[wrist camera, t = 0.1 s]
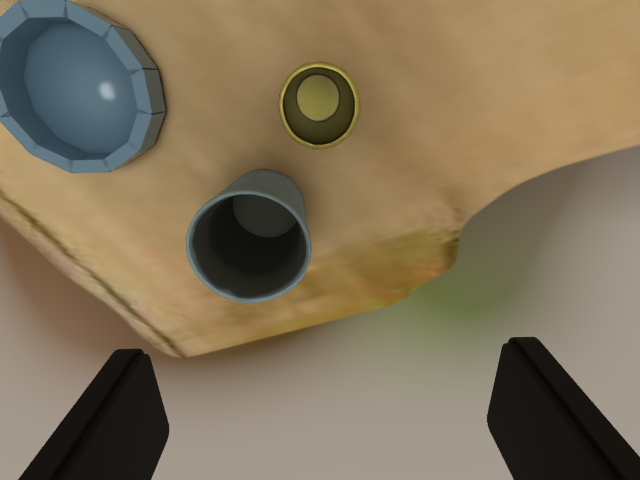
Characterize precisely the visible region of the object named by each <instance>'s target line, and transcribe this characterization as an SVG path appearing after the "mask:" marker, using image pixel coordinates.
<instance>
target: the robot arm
mask: <svg viewBox="0 0 640 480" xmlns="http://www.w3.org/2000/svg"><path fill="white" fill-rule="evenodd" d="M487 422H488V427H489V430H490V432H491V434H492V436H493V438H494V440H495V442H496V444H497V446H498V448H499V450H500V452H501V454H502V456H503V458H504V460H505V463H506V464H507V466H508V468H509V471H510V473H511V475H512V477H513V479H514V480H640V457H639V456H638V455H637V453H636V452H635V451H634V450H633V449H632V448H631V446H630V445H629V444H628V443H627V442H626V441H625V439H624V438H623V437H622V436H621V435H620V434H619V432H618V431H617V430H616V429H615V428H614V427H613V426H612V424H611V423H610V422H609V421H608V420H607V419H606V417H605V416H604V415H603V414H602V413H601V412H600V410H599V409H598V408H597V407H596V406H595V405H594V404H593V402H592V401H591V400H590V399H589V398H588V396H587V395H586V394H585V393H584V392H583V391H582V389H581V388H580V387H579V386H578V385H577V384H576V382H575V381H574V380H573V379H572V378H571V377H570V376H569V374H568V373H567V372H566V371H565V370H564V369H563V368H562V366H561V365H560V364H559V363H558V362H557V360H556V359H555V358H554V357H553V356H552V355H551V353H550V352H549V351H548V350H547V349H546V348H545V346H544V345H543V344H542V343H541V342H540V341H539V340H538V339H537V338H535V337H514V338H510V339H509V341H508V343H506V344H504V345H503V346H502V350H501V354H500V359H499V363H498V369H497V373H496V377H495V382H494V387H493V391H492V396H491V400H490V405H489V410H488V414H487ZM168 435H169V423H168V420H167V416H166V413H165V409H164V406H163V402H162V398H161V395H160V391H159V388H158V384H157V380H156V377H155V373H154V370H153V366H152V362H151V359H150V356H149V355H148V354H144V352H143V351H142V350H141V349H118V350H116V351H115V352H114V353H113V354H112V355H111V356H110V358H109V359H108V361H107V362H106V363H105V364H104V366H103V367H102V368H101V370H100V371H99V372H98V374H97V375H96V377H95V378H94V379H93V381H92V382H91V383H90V384H89V386H88V387H87V389H86V390H85V391H84V393H83V394H82V395H81V397H80V398H79V399H78V401H77V402H76V403H75V405H74V406H73V407H72V409H71V410H70V411H69V413H68V414H67V415H66V416H65V418H64V419H63V421H62V422H61V423H60V424H59V426H58V427H57V429H56V430H55V431H54V432H53V434H52V435H51V437H50V438H49V439H48V441H47V442H46V443H45V445H44V446H43V447H42V449H41V450H40V451H39V453H38V454H37V455H36V457H35V458H34V459H33V461H32V462H31V463H30V465H29V466H28V467H27V469H26V470H25V471H24V473H23V474H22V475H21V477H20V478H19V479H18V480H151V478H152V476H153V473H154V471H155V468H156V466H157V464H158V461H159V459H160V457H161V454H162V451H163V449H164V447H165V444H166V442H167V439H168Z"/></svg>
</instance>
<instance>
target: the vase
mask: <svg viewBox="0 0 640 480" xmlns="http://www.w3.org/2000/svg"><path fill="white" fill-rule="evenodd" d="M279 112H280V115H281V119H282V123H283V126H284V128H285V129H286V131H287V132H288V133H289V135H290V136H291V137H292V138H293V139H294V140H295V141H296V142H298V143H300V144H302V145H304V146H306V147H309V148H312V149H326V148H330V147H333V146H336V145H337V144H339V143H340V142H342V141H343V140H344V139H346V138H347V137H348V136H349V135H350V134H351V132H352V130H353V128H354V127H355V125H356V123H357V121H358V119H359V115H360V100H359V94H358V90H357V88H356V85H355V83H354V82H353V80H352V79H351V78H350V76H349V75H348V74H347V73H346V72H345V70H343V69H342V68H340V67H338V66H336V65H333V64H330V63H327V62H314V63H307V64H304V65H302V66H300V67H299V68H298V69H296V70H295V71H293V72H292V73H291V74H290V75H289V76H288V78H287V80H286V81H285V83H284V85H283V87H282V89H281V92H280V95H279Z"/></svg>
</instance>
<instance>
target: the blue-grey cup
mask: <svg viewBox="0 0 640 480" xmlns="http://www.w3.org/2000/svg"><path fill="white" fill-rule="evenodd" d="M186 251H187V256H188V260H189V262H190V265H191V267H192V269H193V271H194V272H195V274H196V275H197V276H198V278H199V279H200V280H201V281H202V282H203V283H204V284H205V285H206V286H207V287H208V288H210V289H211V290H212V291H214V292H215V293H217V294H219V295H220V296H222V297H225V298H228V299H230V300H233V301H238V302H244V303H258V302H265V301H270V300H273V299H275V298H278V297H280V296H282V295H284V294H285V293H287V292H289V291H290V290H292V289H293V288H294V287H295V286H296V285H297V284H298V283H299V282H300V280H301V279H302V278H303V276H304V274H305V272H306V270H307V268H308V265H309V262H310V258H311V241H310V235H309V231H308V228H307V222H306V218H305V209H304V202H303V198H302V195H301V193H300V191H299V189H298V188H297V186H296V185H295V184H294V183H293V182H292V181H291V180H290V179H289V178H288V177H286V176H284V175H283V174H281V173H278V172H275V171H271V170H256V171H252V172H250V173H247V174H245V175H243V176H242V177H240V178H239V179H238V180H237V181H235V182H234V183H233V184H231V185H230V186H229V187H227V188H226V189H225V190H224V191H223V192H221V193H220V194H218V195H217V196H215V197H214V198H213V199H211V200H210V201H209V202H207V203H206V204H205V205H204V206H203V207H202V208H201V209H200V210H199V211H198V212H197V213H196V215H195V216H194V218H193V220H192V222H191V223H190V226H189V229H188V231H187V236H186Z"/></svg>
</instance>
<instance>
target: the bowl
mask: <svg viewBox="0 0 640 480" xmlns="http://www.w3.org/2000/svg"><path fill="white" fill-rule="evenodd" d="M156 69H157V67H156V66H155V64H154V63H153V62H152V60H151V59H150V57H149V56H148V55H147V53H146V52H145V50H144V49H143V48H142V46H141V45H140V43H139V42H138V41H137V39H136V38H135V36H134V35H133V34H132V32H131V31H129V29H127V28H125V27H123V26H122V25H120V24H118V23H116V22H114V21H113V20H111V19H109V18H107V17H106V16H104V15H102V14H100V13H98V12H97V11H95V10H93V9H91V8H90V7H87V6H84V5H81V4H78V3H74V2H71V1H68V0H20V1H17V2H16V3H15V4H14V5H13V6H12V7H11V8H10V9H8V10H7V11H6V12H5V13H4V14H3V15H2V16H1V17H0V122H1V123H2V124H3V125H4V126H5V127H6V128H7V129H8V131H9V132H10V133H11V134H12V135H13V136H14V137H15V138H16V139H17V140H18V141H19V142H20V144H21V145H22V146H23V147H24V148H25V149H26V150H27V151H28V152H29V153H31V155H33V156H35V157H37V158H40V159H42V160H44V161H46V162H48V163H50V164H53V165H55V166H57V167H59V168H61V169H63V170H65V171H68V172H70V173H71V172H72V173H95V172H111V171H113V170H116V169H118V168H120V167H123V166H125V165H127V164H128V163H130V162H131V161H133V160H134V159H136V158H137V157H138V156H140V155H141V154H143V153H144V152H146V151H147V150H148V149H150V148H151V147H153V145H154V144H155V141H156V138H157V135H158V132H159V129H160V127H161V124H162V121H163V118H164V115H165V113H166V112H164V111H166V110H165V104H164V99H163V93H162V88H161V83H160V77H159V72H158V70H156Z"/></svg>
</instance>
